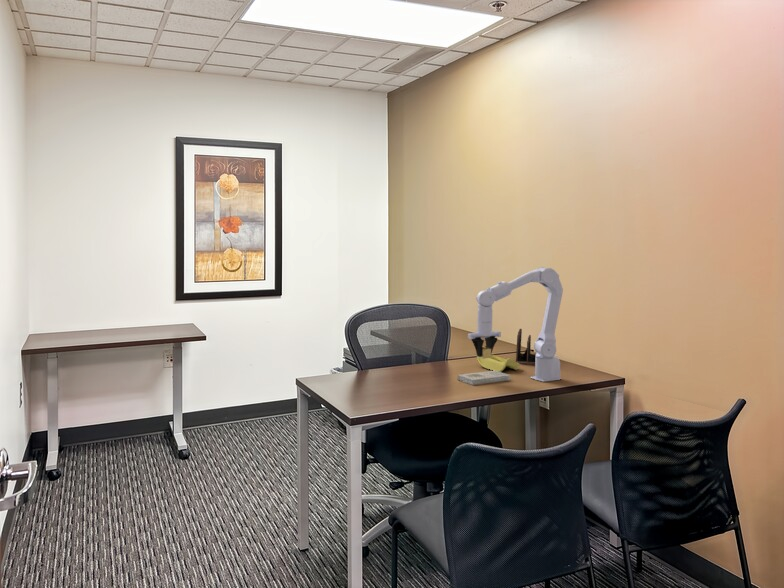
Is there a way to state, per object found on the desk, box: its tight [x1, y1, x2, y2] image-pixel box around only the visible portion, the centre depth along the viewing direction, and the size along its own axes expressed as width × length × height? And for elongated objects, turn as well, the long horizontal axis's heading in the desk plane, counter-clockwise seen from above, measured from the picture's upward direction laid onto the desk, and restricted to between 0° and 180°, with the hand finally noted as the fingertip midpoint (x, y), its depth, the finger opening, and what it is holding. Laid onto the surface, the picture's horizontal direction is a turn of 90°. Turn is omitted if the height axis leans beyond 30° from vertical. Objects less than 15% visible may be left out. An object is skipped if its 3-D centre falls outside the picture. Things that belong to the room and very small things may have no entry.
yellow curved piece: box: [475, 353, 520, 373], centre depth 268 cm, size 20×7×10 cm
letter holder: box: [515, 328, 536, 365], centre depth 284 cm, size 10×20×14 cm, turn 164°
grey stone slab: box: [457, 370, 511, 386], centre depth 243 cm, size 18×10×2 cm, turn 118°
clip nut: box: [476, 345, 491, 359], centre depth 243 cm, size 4×4×4 cm
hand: (484, 356), depth 243 cm, fingers closed on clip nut, 4 cm apart
